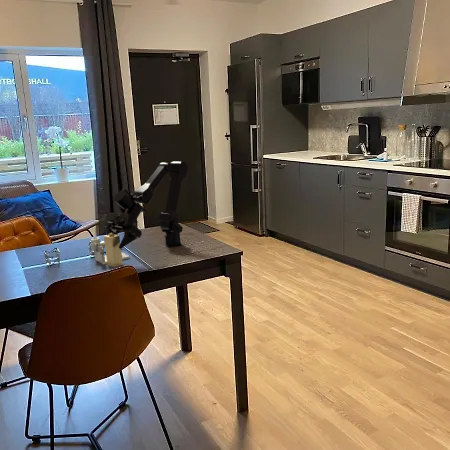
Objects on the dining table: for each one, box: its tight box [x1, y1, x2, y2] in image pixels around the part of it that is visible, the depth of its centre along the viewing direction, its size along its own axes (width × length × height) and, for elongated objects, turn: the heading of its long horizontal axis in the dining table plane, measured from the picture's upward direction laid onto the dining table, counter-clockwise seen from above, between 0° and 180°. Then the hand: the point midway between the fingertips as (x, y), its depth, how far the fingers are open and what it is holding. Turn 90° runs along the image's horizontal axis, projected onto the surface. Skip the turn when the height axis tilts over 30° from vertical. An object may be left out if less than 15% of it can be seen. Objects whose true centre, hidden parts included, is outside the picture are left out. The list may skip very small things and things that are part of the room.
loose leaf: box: [103, 233, 124, 268], centre depth 196 cm, size 4×5×14 cm
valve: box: [90, 237, 105, 252], centre depth 218 cm, size 7×7×12 cm
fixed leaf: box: [93, 243, 130, 266], centre depth 204 cm, size 12×9×8 cm
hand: (112, 246), depth 195 cm, fingers open, 9 cm apart
